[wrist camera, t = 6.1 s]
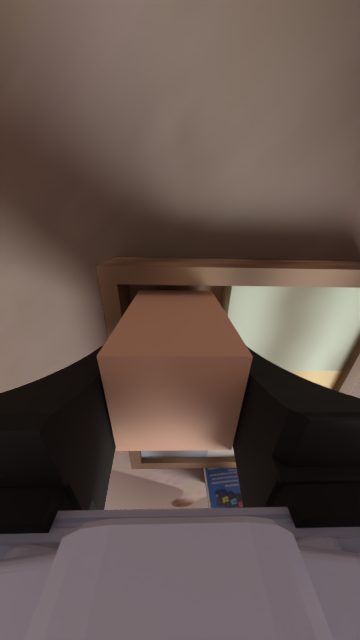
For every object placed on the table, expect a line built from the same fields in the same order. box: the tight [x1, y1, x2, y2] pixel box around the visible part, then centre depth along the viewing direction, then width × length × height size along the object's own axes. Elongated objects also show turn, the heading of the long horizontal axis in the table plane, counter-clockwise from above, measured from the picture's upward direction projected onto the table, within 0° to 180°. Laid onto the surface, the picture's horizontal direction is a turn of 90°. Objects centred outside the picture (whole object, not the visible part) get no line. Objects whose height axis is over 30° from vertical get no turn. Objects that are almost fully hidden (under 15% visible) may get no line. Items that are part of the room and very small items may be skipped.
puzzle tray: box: [96, 257, 360, 469], centre depth 16 cm, size 18×20×4 cm
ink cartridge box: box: [203, 468, 243, 508], centre depth 19 cm, size 10×6×14 cm, turn 7°
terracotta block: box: [97, 290, 253, 451], centre depth 10 cm, size 5×5×7 cm
